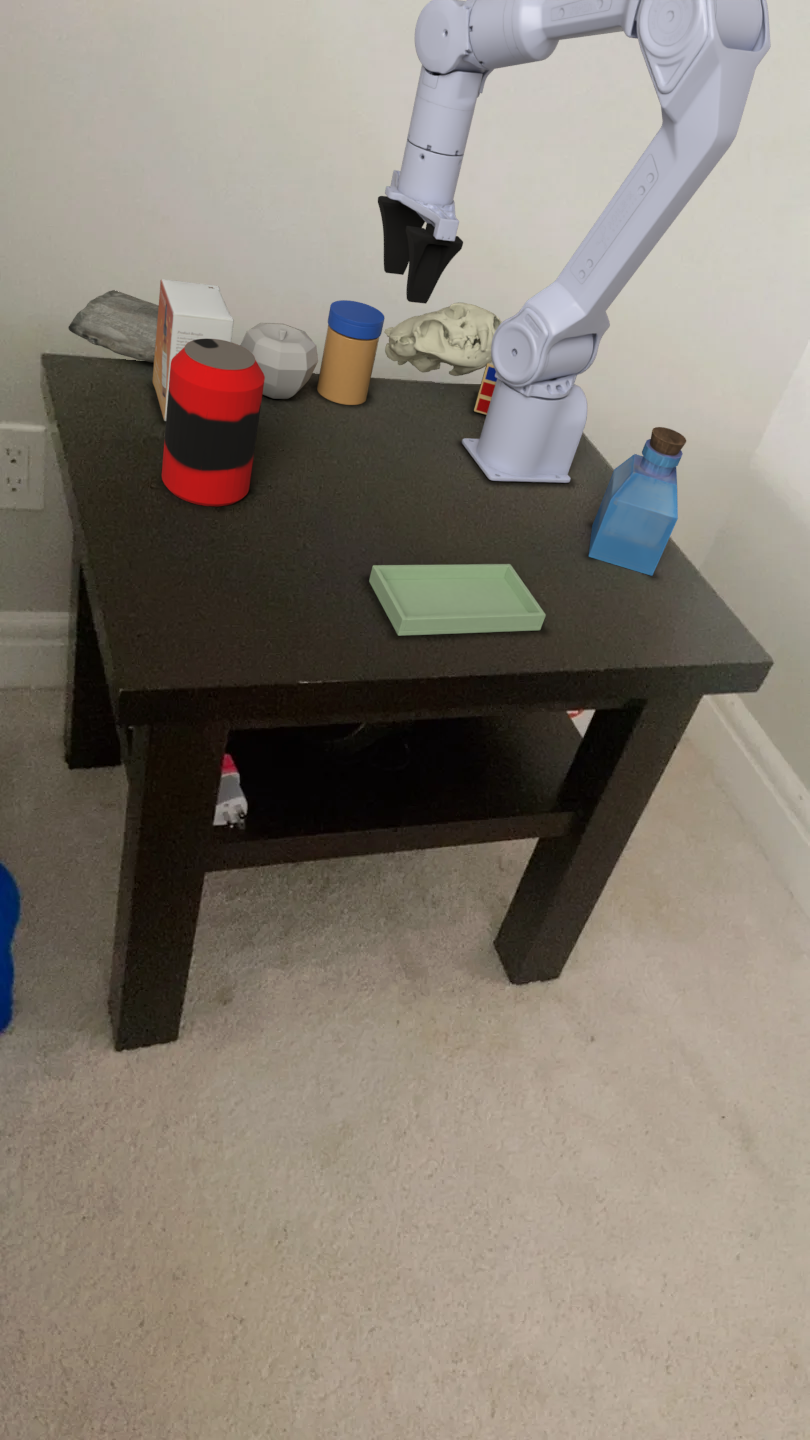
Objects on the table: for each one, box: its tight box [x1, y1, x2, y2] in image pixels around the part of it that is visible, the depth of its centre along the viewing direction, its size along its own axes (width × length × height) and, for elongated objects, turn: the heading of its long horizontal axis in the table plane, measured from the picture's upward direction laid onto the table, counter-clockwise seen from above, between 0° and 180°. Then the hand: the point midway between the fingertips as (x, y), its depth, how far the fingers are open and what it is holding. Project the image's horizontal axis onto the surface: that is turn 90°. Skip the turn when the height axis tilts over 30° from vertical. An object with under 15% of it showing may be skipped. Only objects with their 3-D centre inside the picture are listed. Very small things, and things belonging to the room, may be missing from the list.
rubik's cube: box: [473, 362, 497, 416], centre depth 117 cm, size 6×6×6 cm
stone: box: [67, 289, 159, 364], centre depth 109 cm, size 11×4×15 cm
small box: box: [152, 278, 235, 422], centre depth 99 cm, size 8×6×10 cm
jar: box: [316, 324, 380, 406], centre depth 110 cm, size 5×5×8 cm
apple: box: [239, 322, 319, 400], centre depth 107 cm, size 8×8×7 cm
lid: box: [327, 299, 385, 340], centre depth 107 cm, size 6×6×2 cm
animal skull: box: [383, 301, 503, 377], centre depth 116 cm, size 15×9×8 cm
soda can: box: [161, 339, 265, 508], centre depth 88 cm, size 8×8×12 cm
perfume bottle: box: [588, 426, 687, 577], centre depth 96 cm, size 6×6×12 cm
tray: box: [368, 563, 547, 637], centre depth 86 cm, size 13×7×2 cm, turn 110°
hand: (404, 286), depth 110 cm, fingers open, 7 cm apart
